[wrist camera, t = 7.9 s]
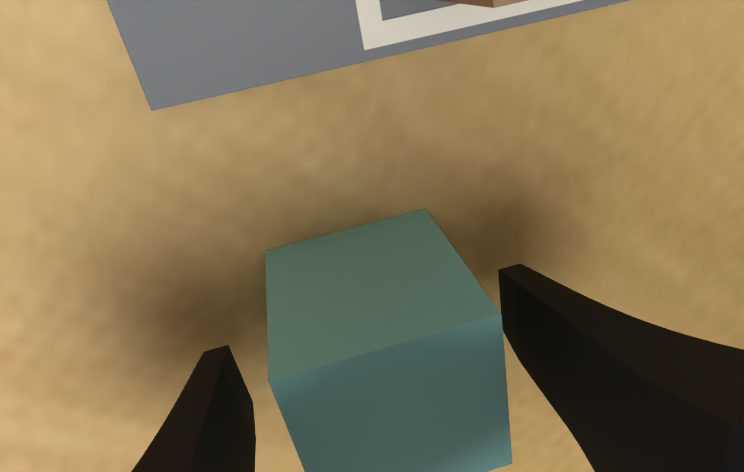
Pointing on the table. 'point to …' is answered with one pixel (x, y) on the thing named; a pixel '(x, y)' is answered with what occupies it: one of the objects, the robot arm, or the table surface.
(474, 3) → the walnut block
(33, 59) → the table surface
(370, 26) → the grey board with square
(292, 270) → the teal block
